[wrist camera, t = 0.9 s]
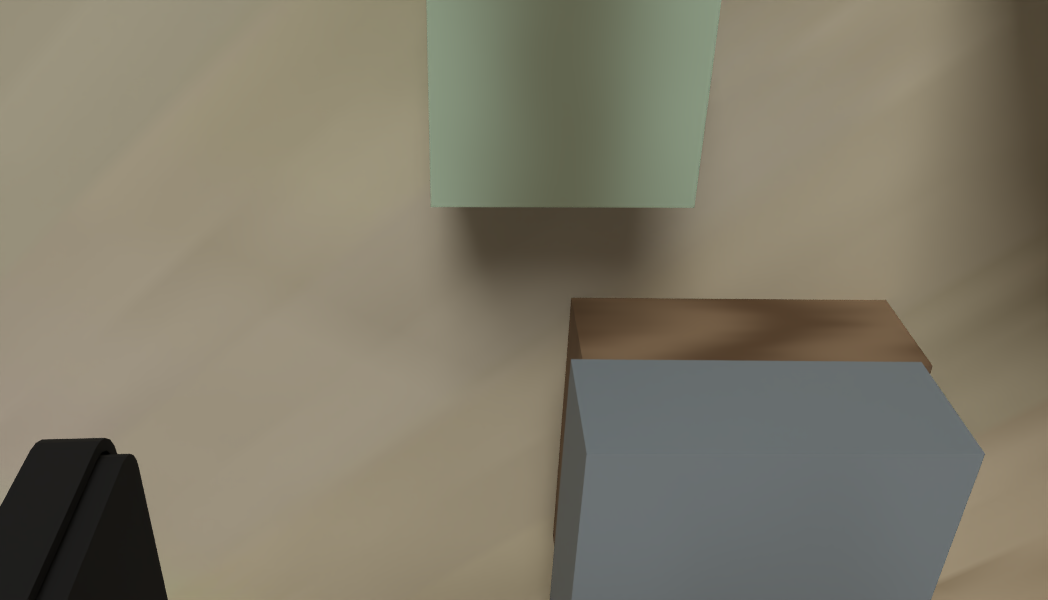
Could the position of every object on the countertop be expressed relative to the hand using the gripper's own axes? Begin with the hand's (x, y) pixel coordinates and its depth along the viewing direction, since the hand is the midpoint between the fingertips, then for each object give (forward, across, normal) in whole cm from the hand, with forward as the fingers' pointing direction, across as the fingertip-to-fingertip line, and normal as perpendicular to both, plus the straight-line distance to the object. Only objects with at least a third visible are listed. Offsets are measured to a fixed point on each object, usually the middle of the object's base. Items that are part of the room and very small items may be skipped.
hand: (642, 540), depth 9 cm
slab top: (+16, -7, +14) cm, 22 cm away
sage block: (+19, -1, 0) cm, 19 cm away
